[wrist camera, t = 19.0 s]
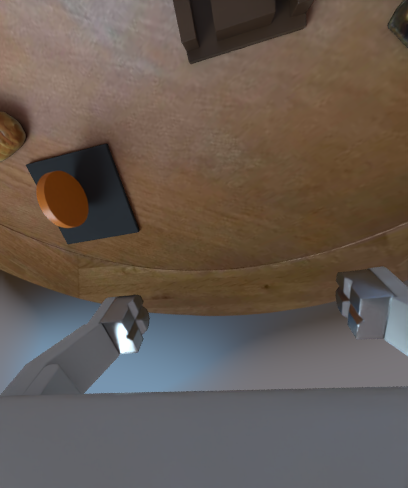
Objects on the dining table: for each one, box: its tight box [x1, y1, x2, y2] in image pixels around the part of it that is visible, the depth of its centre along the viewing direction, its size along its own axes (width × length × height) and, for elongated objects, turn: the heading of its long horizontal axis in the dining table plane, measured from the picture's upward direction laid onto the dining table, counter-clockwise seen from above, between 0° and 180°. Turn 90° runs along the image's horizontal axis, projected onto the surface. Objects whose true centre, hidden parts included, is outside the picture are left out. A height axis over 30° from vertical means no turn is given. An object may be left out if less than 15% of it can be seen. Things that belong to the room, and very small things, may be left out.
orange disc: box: [36, 171, 89, 228], centre depth 33 cm, size 8×1×8 cm, turn 12°
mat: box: [26, 144, 139, 244], centre depth 37 cm, size 14×14×1 cm
